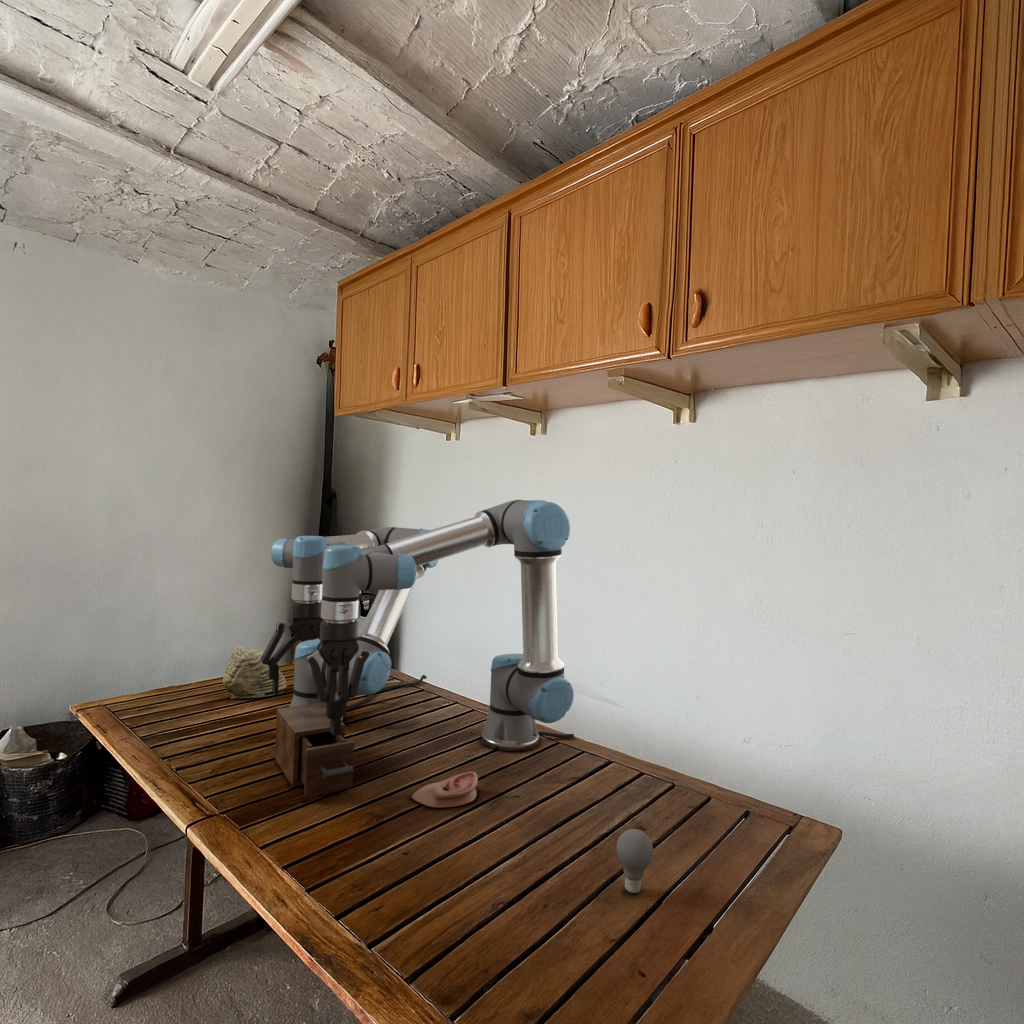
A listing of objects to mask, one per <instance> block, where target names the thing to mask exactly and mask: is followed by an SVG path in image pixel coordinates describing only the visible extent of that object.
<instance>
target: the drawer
mask: <svg viewBox="0 0 1024 1024" xmlns="http://www.w3.org/2000/svg"><path fill="white" fill-rule="evenodd" d="M354 752H355V741H354V740H346V738H345V739H344V738H343V737H342V736H341V735H336V736H333V735H332V733H331V732H324V733H318V734H312V735H306V736H300V737H299V761H298V776H299V778H300V780H301V781H302V783H303V784H304V785H303V786H304V790H303V791H304V793H303V794H304V795H303V796H304V797H305V798H306V799H307V798H310V797H312V798H313V797H316V796H322V795H326V794H330V793H334V792H340V791H344V790H349V789H353V781H354V779H353V778H354V760H355V759H354V757H355V756H354V755H355V753H354Z"/></svg>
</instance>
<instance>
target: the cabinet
mask: <svg viewBox="0 0 1024 1024" xmlns="http://www.w3.org/2000/svg"><path fill="white" fill-rule="evenodd" d="M275 720H276V721H275V745H274V746H275V747H274V749H275V750H274V760H275V762H277V764H278V766H279V768H280V769H281V771H282V773H283V774H284V776H285V777H286V779H287V780H288V782H289V784H290V785H291V787H292V788H296V787H303V786H304V784H303V783H302V781H301V780H300V778H299V776H298V761H299V737H300V736H306V735H312V734H318V733H324V732H330V719H328V718H327V717H326V705H325V704H324V703H316V704H309V705H302V706H294V707H290V706H288V707H281V708H276V719H275ZM345 733H346V724H345V723H344V721H343V722H342V721H341V736H342V737H343V738H344V739H345V740H346V738H345V735H346V734H345Z"/></svg>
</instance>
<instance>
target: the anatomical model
mask: <svg viewBox="0 0 1024 1024" xmlns="http://www.w3.org/2000/svg"><path fill="white" fill-rule="evenodd" d="M478 777H479V776H478V775H477V772H475V771H466V772H463V773H462V772H461V773H459V774H456V775H454V776H451V777H448V778H445V779H444V780H441V781H438V782H433V783H429V784H426V785H424V786H421V788H419V789H417V790H416V791H414V792H413V794H412V795H411V799H412V800H414V801H415V802H417V803H419V804H421V805H423V806H427V807H428V808H429V807H430V808H435V809H439V808H452V807H459V806H464V805H466V804H469V803H471V802H473V801H474V800H475V799H476V798H477V795H478V794H477V789H476V787H477V786H478V783H479V782H478V781H479V778H478Z"/></svg>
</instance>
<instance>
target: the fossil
mask: <svg viewBox="0 0 1024 1024" xmlns="http://www.w3.org/2000/svg"><path fill="white" fill-rule="evenodd" d="M264 651H265V649H263V648H260V647H258V648H251V647H247V646H246V647H245V646H238V647H237V648H236V649H235V650H233V651H232V653H231V656H230V657H229V659H228V660H227V663H226V666H225V668H224V671H223V675H222V676H223V677H222V685H223V687H224V688H225V690H226V691H228V693H229V698H230V699H250V698H264V697H271V696H275V695H281V694H284V693H285V691H286V689H287V687H288V686H287V680H286V678H285V676H284V674H283V673H282V672H281V669H279V684H278V694H274V693H273V692H272V682H273V680H270V679H269V677H268V669H269V666H268V665H266V664H263V663H262V662H261V661H260V659H261V657H262V655H263V653H264Z"/></svg>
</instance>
